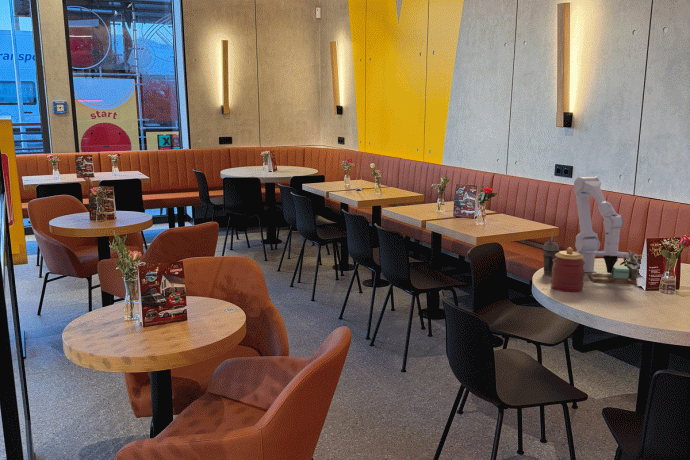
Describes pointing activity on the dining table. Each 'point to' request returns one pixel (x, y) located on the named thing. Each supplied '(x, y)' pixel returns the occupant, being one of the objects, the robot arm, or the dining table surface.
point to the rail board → (609, 278)
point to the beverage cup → (549, 255)
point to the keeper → (620, 272)
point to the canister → (568, 271)
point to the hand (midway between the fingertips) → (609, 272)
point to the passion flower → (633, 260)
